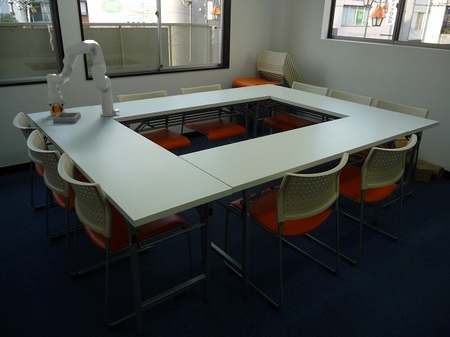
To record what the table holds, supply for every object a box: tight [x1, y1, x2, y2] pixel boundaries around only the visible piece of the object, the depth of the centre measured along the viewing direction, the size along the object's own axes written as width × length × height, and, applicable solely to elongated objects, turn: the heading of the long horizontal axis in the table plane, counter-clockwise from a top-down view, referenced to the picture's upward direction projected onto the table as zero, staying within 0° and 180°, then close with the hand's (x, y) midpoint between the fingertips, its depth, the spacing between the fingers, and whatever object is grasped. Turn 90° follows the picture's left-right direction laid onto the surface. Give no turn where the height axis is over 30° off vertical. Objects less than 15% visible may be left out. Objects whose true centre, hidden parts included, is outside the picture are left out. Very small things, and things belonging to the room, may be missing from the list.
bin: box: [52, 111, 82, 124], centre depth 286 cm, size 16×16×4 cm
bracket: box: [49, 104, 67, 117], centre depth 299 cm, size 11×7×12 cm, turn 129°
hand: (58, 111), depth 300 cm, fingers open, 5 cm apart
